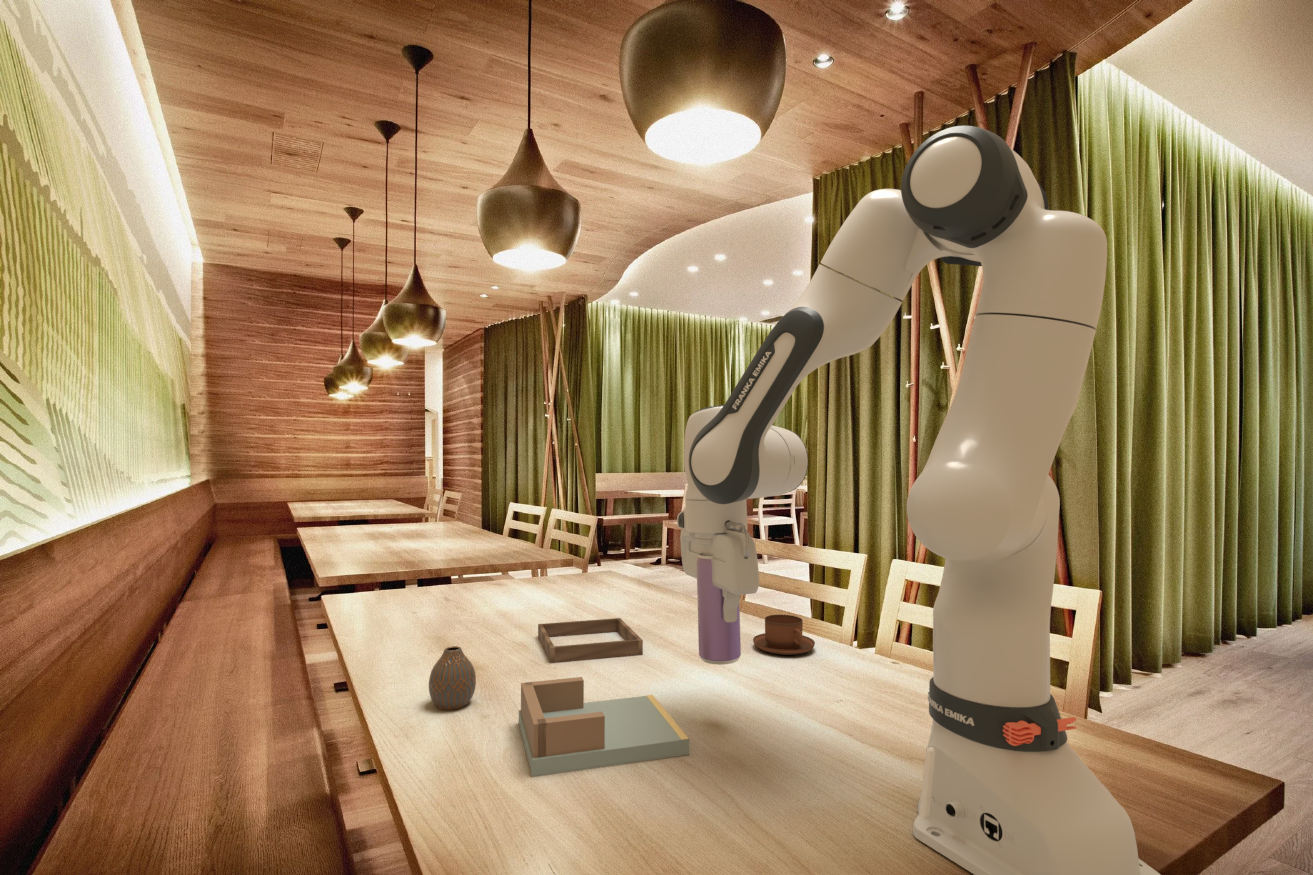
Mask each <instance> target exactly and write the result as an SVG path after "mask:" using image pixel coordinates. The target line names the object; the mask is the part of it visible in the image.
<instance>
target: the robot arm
mask: <svg viewBox="0 0 1313 875" xmlns="http://www.w3.org/2000/svg"><path fill="white" fill-rule="evenodd" d="M907 161H908V162H907V163H906V165H905V168H904V169H903V172H902V177H901V182H900V183H901V184H900V189H895V188H882V189H881V188H880V189H876V190H873V191H870V192H868V193H867V194H865V195H864V196H863V197H862V198H861V199H860V200H859V202H858V203H857V204H856V205H855V207H854V208H853V209H852V211H851V212H850V213H849V215H848V216H847V217H846V219H845V220H844V222H843V223H842V225H841V226H840V228H839V230H838V231H837V232H836V235H834V237H833V239H832V240H831V242H830V244H829V245H828V247H827V250H826V251H825V253H824V254H823V257H822V259H821V261H820V263H821V264H820V263H819V265H818V267H817V268H816V270H815V272H814V274H813V276H812V278H811V279H810V281H809V282H808V284H807V286H806V287H805V289H804V290H803V292H802V293H801V295H800V296H799V298H798V299H797V301H796V302H795V303H794V304H793V306H792V307H791V308H790V309H789V310H788V311H787V312H786V313H785V314H784V315H782V317H781V318H780V319H779V321H777V323H776V324H775V325H774V326H773V327H772V329H771V330H770V332H769V333H768V335H767V336H766V337H765V338H764V341H763V342H762V344H761V345H760V347H759V348H758V350H757V352H756V354H755V355H754V356H753V358H751V359H752V360H751V361H750V362H749V365H747V367H746V369H745V370H744V372H743V374H742V376H741V378H740V379H739V380H738V382H737V384H736V385H735V387H734V388H733V390H732V392H731V393H730V395H729V396H728V399H727V400H726V402H725V403H724V404H718V405H713V406H707V407H703V408H699V409H698V410H696V411H694V412H693V413H692V414H691V415H690V416H689V417H688V419H687V422H686V426H685V432H684V441H683V442H684V443H683V444H684V445H683V462H684V463H683V465H684V466H683V467H684V469H683V470H684V473H685V477H686V480H687V486H686V490H685V491H686V493H685V496H684V499H685V503H684V504H685V506H684V508H683V510H681V511H680V512H679V513H678V514H677V517H676V525H677V528H678V529H680V536H679V538H680V539H679V540H680V553H681V564H682V568H683V571H684V573H685V575H686V576H690V577H692V578H694V579H696V580H697V559H698V554H699V553H702V554H704V556H713V558H711V562H712V582H713V585H714V586H715V587H717V588H720V589H722V594H723V597H724V604H723V608H721V619H722V620H724V621H726V622H735V621H736V620H737V607H738V604H739V605H740V601H741V596H742V595H753V594H756V593H757V592H758V590H759V588H760V574H759V561H758V553H757V546H756V543H755V540H754V538H753V537H752V536H750V533H749V532H748V510H747V509H748V507H747V500H749V499H750V500H751V499H752V500H753V499H761V498H762V499H764V498H768V497H777V496H783V495H785V494H788V493H791V492H793V491H795V490H796V489H798V488H799V487H800V486H801V485H802V483H803V481H804V480H805V478H806V477H807V472H808V468H809V454H808V451H807V450H808V449H807V448H806V445H805V443H804V440H802V439H801V436H799V435H798V434H797V433H795V431H792V430H790V429H786V428H783V427H780V426H776V425H773V424H774V423H775V422H776V419H778V416H779V415H780V413H781V412H782V410H783V408H784V407H785V405H786V404H787V402H788V401H789V399H790V397H791V396H792V395H793V393H794V391H795V390H796V388H797V387H798V385H799V384H800V383H801V382H802V381H803V380H804V379H805V378H807V376H809V374H811V373H812V372H814V371H816V370H817V369H818V368H821V367H822V366H824V365H826V364H829V363H831V362H833V361H837V360H840V359H842V358H846V357H848V356H853V355H857V354H859V353H861V352H863V351H865V350H868V349H869V348H870V347H872V346H873V345H874V344H875V342H877V340H878V339H879V338H880V337H881V336H882V335H883V334H884V332H885V331H886V330H887V329H888V327H889V325H890V324H891V322H892V321H893V319H894V318H895V317H896V314H897V313H898V311H899V310H900V307H901V306H902V304H903V302H902V301H904V300H905V297H906V296H907V295H908V292H909V291H910V289H911V287H912V286H913V283H914V282H915V280H916V278H917V277H918V275H919V274H920V272H921V271H922V270H923V269H924V268H925V267H926V266H927V265H928V264H929V263H931V262H932V261H934V260H938V259H940V260H941V262H943V263H944V264H946V265H961V266H973V267H981V268H982V286H981V290H980V295H979V299H978V302H977V307H976V311H975V316H974V319H973V323H972V328H971V331H970V336H969V339H968V344H967V348H966V352H965V357H964V360H963V364H962V369H961V374H960V377H959V380H958V384H957V388H956V391H955V394H954V395H953V396H954V397H953V399H952V402H951V404H950V406H949V408H948V411H947V413H946V416H945V418H944V420H943V422H942V425H941V426H940V429H939V432H938V434H937V436H936V438H935V441H934V444H933V446H932V449H931V451H930V454H929V456H928V459H927V461H926V463H925V465H924V468H923V470H922V472H921V473H919V475H918V477H917V478H916V480H914V482H913V484H912V486H911V487H910V490H909V493H908V496H907V500H906V515H907V519H908V524H909V526H910V528H911V531H912V532H913V535H914V536H915V537H916V538H917V540H918V541H919V543H921V544H922V546H924V547H925V548H926V549H927V550H929V551H930V552H932V554H935V555H937V556H939V557H942V558H944V559H945V561H944V566H943V570H942V571H943V573H942V576H941V581H940V585H939V590H938V593H937V596H936V598H935V601H934V605H933V609H932V656H933V657H932V658H933V659H932V662H933V663H932V667H933V670H932V672H933V674H932V677H931V678H930V679H929V686H928V687H929V688H928V692H927V699H928V700H927V701H928V714H929V716H930V717H931V718H932V725H931V730H930V735H929V740H928V742H927V746H926V750H925V756H924V757H925V758H924V764H923V766H924V767H923V774H922V785H921V794H920V798H919V799H918V800H919V801H918V803H917V813H918V815H917V816H916V817H915V820H913V821H914V822H913V827H912V828H913V829H912V835H913V837H914V838H916V839H917V840H918V841H920V842H922V843H923V844H925V845H927V846H928V847H930V848H931V849H933V850H934V851H936V852H937V853H939V854H940V855H943V857H946V858H947V859H949V860H950V861H952V862H954V863H956V864H957V865H959V866H960V868H961V867H962V868H963V869H965V870H967V871H968V872H970V873H971V874H973V875H1162V874H1160V872H1158V871H1156V869H1154V868H1152V867H1151V866H1150V865H1148V864H1147V863H1146V862H1145V861H1143V860H1142V859H1140V858H1139V852H1138V845H1137V839H1136V834H1135V830H1134V826H1133V823H1132V821H1131V818H1130V816H1129V814H1128V813H1127V810H1126V809H1125V808H1124V807H1123V806H1122V805H1121V804H1120V803H1119V801H1118V800H1117V799H1115V798H1116V797H1114V796H1113V795H1112V793H1111V792H1110V790H1109V789H1108V788H1107V787H1106V786H1105V785H1104V784H1103V783H1102V782H1101V781H1100V780H1099V779H1098V778H1097V776H1096V775H1095V774H1094V773H1093V772H1092V771H1091V770H1090V768H1089V767H1088V766H1087V765H1086V763H1085V762H1084V761H1083V760H1082V759H1081V757H1080V756H1079V755H1078V754H1077V753H1076V751H1075V750H1073V748H1072V747H1071V745H1069V743H1068V734H1067V732H1066V731H1069V730H1077V727H1076V726H1075V725H1074V726H1073V725H1072V726H1069V725H1071V724H1072V723H1074V722H1075V721H1077V718H1076V717H1074V716H1071V717H1066V718H1062V717H1061V713H1060V710H1059V708H1058V705H1057V702H1056V699H1055V698H1054V695H1053V694H1051V642H1050V641H1051V635H1050V634H1051V631H1050V630H1051V629H1050V628H1051V613H1052V612H1051V610H1052V602H1053V601H1052V600H1053V594H1054V593H1053V592H1054V585H1055V576H1056V575H1055V574H1056V565H1057V564H1056V563H1057V554H1058V541H1059V540H1058V539H1059V523H1060V521H1059V520H1060V506H1061V503H1060V502H1061V501H1060V500H1061V498H1060V494H1059V490H1058V488H1057V486H1056V484H1055V481H1054V480H1053V478H1052V477H1051V476H1050V475H1049V474H1050V471H1051V468H1052V465H1053V462H1054V460H1055V456H1056V454H1057V452H1058V449H1059V447H1060V444H1061V442H1062V439H1063V436H1064V435H1065V432H1066V429H1067V427H1068V425H1069V422H1070V421H1071V418H1072V417H1073V415H1074V413H1075V411H1076V409H1077V405H1078V401H1079V397H1080V393H1081V389H1082V385H1083V383H1084V379H1085V376H1086V370H1087V368H1088V367H1087V366H1088V363H1089V360H1090V355H1091V351H1092V347H1093V344H1094V341H1095V336H1096V333H1097V327H1098V323H1099V318H1100V315H1101V310H1102V304H1103V300H1104V293H1105V284H1106V279H1107V278H1106V277H1107V264H1108V263H1107V261H1108V239H1107V236H1106V233H1105V231H1104V229H1103V228H1102V227H1101V226H1100V225H1099V223H1098V222H1096V221H1095V220H1093V219H1091V218H1090V217H1087V216H1085V215H1084V214H1081V213H1077V212H1073V211H1068V210H1050V208H1049V207H1050V206H1049V200H1048V197H1047V196H1048V195H1047V194H1046V192H1045V190H1044V189H1043V187H1042V185H1041V184H1040V182H1038V181H1037V179H1036V178H1035V175H1034V173H1033V172H1032V169H1031V168H1030V166H1029V165H1028V163H1027V162H1026V160H1024V159H1023V158H1022V157H1021V156H1020V155H1019V154H1018V153H1017V152H1016V151H1015V150H1013V149H1012V148H1011V147H1010V146H1009V145H1008V143H1007V141H1005V140H1004V139H1003V138H1002V137H1001V136H999V135H998V134H996V133H995V132H993V131H991V130H988V129H985V128H981V127H979V126H972V125H956V126H951V127H947V128H945V129H943V130H939V131H938V132H936V133H934V134H933V135H931V136H930V137H928V138H927V139H926V140H924V142H922V143H921V144H920V145H919V146H918V147H917V148H916V150H915V151H914V152H913V154H912V155H911V156H910V158H909V159H908V160H907ZM1067 725H1068V726H1067Z"/></svg>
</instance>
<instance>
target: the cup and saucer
mask: <svg viewBox="0 0 1313 875" xmlns="http://www.w3.org/2000/svg"><path fill="white" fill-rule="evenodd" d="M803 620H804V619H803V618H801V617H799V616H797V615H791V614H771V615H766V617H764V633H759V634H757V635H755V636H754V637H752V638H753V639H752V641H753V644H754V645H755V646H756V647H757V648H758V649H760V650H761V651H764V652H767V653H770V654H773V655H774V654H775V655H782V656H793V655H794V656H795V655H800V654H805V653H807V652H808V653H809V652H810V651H811V650H812V649H813V648H814V647H815V644H816V641H815V640H814V639H812V638H811V637H809V636H807V635H804V634H803V628H804V626H803Z"/></svg>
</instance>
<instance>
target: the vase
mask: <svg viewBox="0 0 1313 875" xmlns="http://www.w3.org/2000/svg"><path fill="white" fill-rule="evenodd" d="M476 675H477V674H476V671H475V668H474V665H473V664H472V662H471V661H470V660H469V658H468V657H467V656H466V655H465V653H464V651H463V649H462V647H461V646H455V645H453V646H448V647H445V648H444V650H443V653H442V655H441V656H440V658H439V659H438V660H437V661H436V663H435V664H434V666H433V667H432V669H431V671H430V675H429V679H428V693H429V696H430V699H431V702H432V703H433V705H434V706H436V707H437V708H438V709H439V710H443V711H455V710H460V709H462V708H464V707H465V706H467V705H468V703H470V701H471V700H472V698H473V696H474V694H475V690H476V684H477V676H476Z"/></svg>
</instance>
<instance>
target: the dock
mask: <svg viewBox="0 0 1313 875" xmlns="http://www.w3.org/2000/svg"><path fill="white" fill-rule="evenodd" d="M584 682H585V680H584V678H583V676H578V677H577V676H576V677H567V678H558V679H547V680H537V681H528V682H521V683H520V709H518V727H519V730H520V735H521V738H522V739H521V740H522V742H523V746H524V751H525V755H526V759H527V762H528V767H529V770H530V775H531V777H532V778H534V777H543V776H549V775H556V774H561V773H571V772H576V771H583V770H591V769H597V768H605V767H612V766H619V765H624V764H625V765H626V764H633V763H640V761H641V762H646V761H647V762H648V761H655V760H663V759H668V758H674V757H675V756H676V757H681V756H688V755H690V738H689V737H688V735H686V733H685V732H684V731H683V729H682V728H681V727H680V726H679V725H678V723H677V722H676V721H675V720H674V719H673V718H672V716H671V715H670V714H669V713H668V712H667V710H666V709H665V708H664V707H663V706H662V704H661V703H660V702H659V701H658V700H657V699H656V697H655V695H653V694H647V695H643V696H635V697H634V696H633V697H624V698H623V697H622V698H616V699H614V698H613V699H606V700H599V701H598V700H597V701H590V702H588V701H587V702H585V701H584V698H585V697H584V695H585V694H584V691H585V690H584V687H585V683H584Z"/></svg>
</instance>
